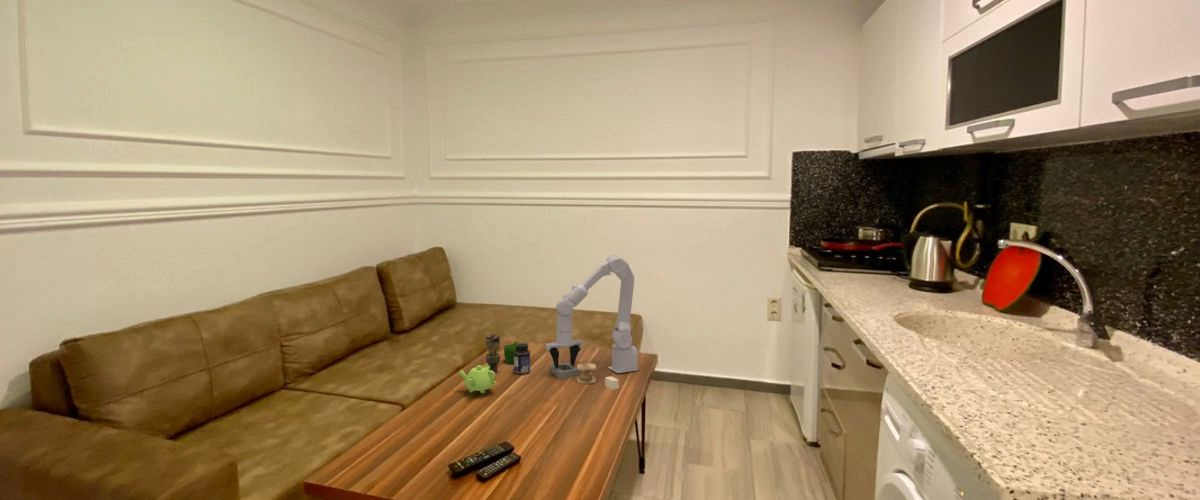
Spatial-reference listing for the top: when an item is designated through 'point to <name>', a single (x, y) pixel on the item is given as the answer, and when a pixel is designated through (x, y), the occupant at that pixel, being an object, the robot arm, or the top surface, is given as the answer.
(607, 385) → the rectangular block
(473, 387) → the teapot
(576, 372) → the board with rectangular hole
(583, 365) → the bobbin
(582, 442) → the top surface
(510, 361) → the bell pepper
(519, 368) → the pill bottle
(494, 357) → the dark carved statue
